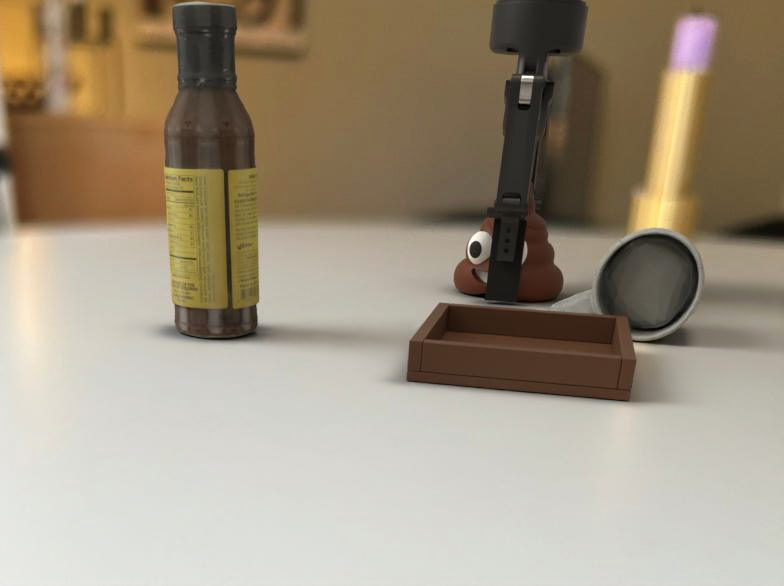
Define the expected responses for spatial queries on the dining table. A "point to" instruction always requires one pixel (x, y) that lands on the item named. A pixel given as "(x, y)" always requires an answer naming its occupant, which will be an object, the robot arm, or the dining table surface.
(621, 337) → the walnut tray
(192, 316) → the sauce bottle
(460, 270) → the poop emoji
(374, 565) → the dining table surface
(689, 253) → the ceramic mug
